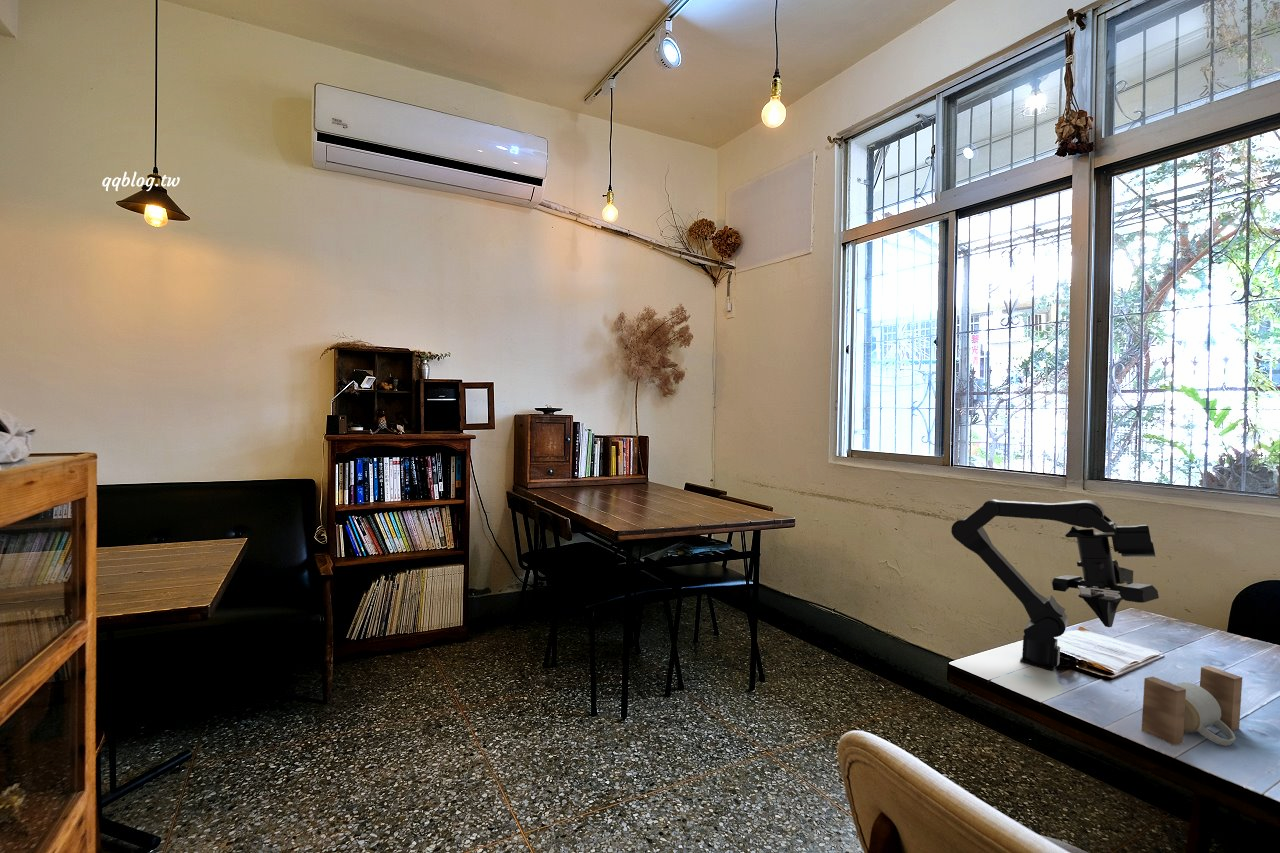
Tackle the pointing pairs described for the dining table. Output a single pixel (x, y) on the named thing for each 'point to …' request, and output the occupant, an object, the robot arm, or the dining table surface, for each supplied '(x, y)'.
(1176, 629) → the dining table surface
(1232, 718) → the walnut bookends
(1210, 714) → the ceramic mug
